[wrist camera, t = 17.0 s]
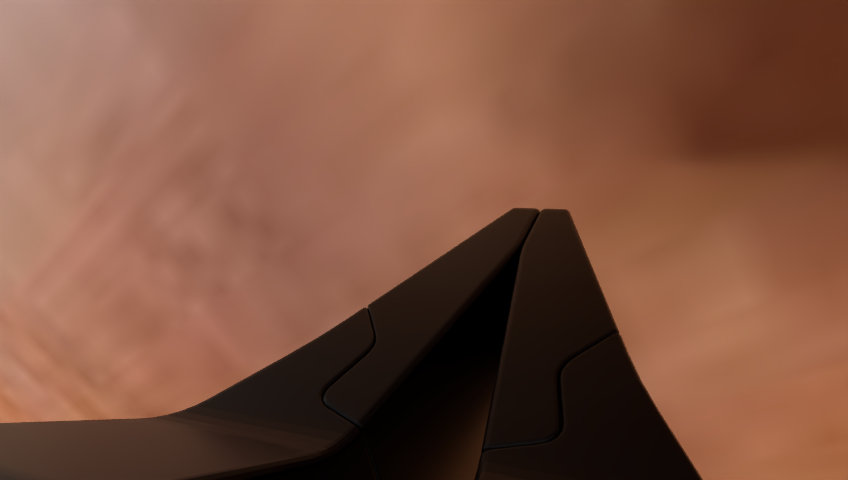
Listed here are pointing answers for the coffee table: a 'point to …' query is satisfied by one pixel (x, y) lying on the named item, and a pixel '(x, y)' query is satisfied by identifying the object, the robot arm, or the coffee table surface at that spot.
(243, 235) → the coffee table surface
